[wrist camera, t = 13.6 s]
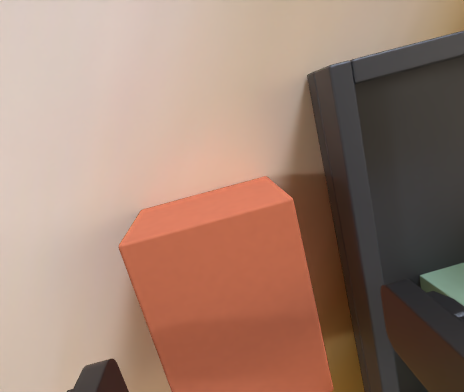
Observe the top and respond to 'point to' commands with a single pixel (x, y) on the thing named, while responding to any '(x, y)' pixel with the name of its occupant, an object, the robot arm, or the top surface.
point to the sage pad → (445, 282)
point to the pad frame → (393, 181)
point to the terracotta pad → (228, 291)
